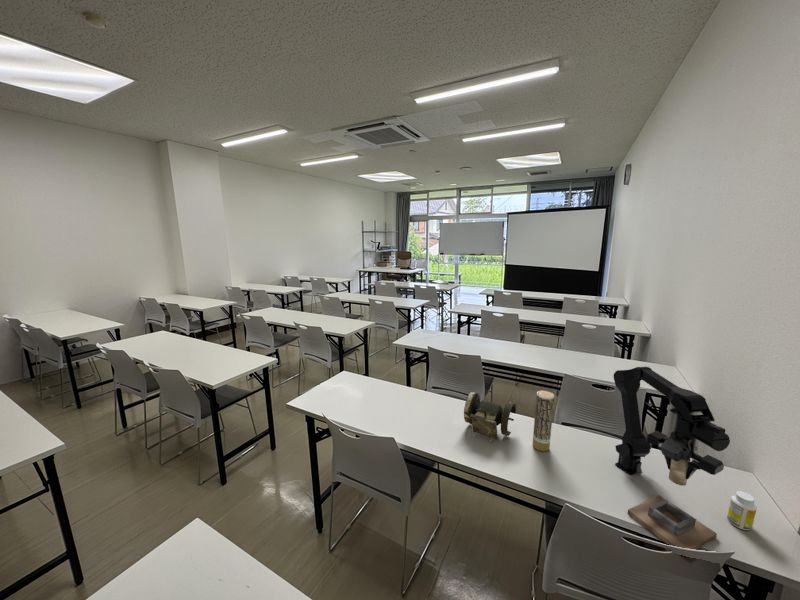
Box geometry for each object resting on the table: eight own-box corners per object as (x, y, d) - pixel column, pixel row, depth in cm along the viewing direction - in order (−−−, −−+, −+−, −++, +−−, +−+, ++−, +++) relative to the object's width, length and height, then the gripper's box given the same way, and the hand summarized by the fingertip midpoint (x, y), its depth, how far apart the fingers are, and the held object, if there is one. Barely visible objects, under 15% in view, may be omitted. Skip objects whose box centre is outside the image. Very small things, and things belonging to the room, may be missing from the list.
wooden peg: (665, 478, 108) (669, 454, 106) (673, 474, 109) (677, 450, 108) (681, 487, 104) (685, 462, 102) (689, 483, 105) (693, 458, 104)
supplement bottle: (750, 523, 102) (757, 495, 100) (752, 534, 98) (759, 506, 96) (726, 513, 106) (732, 486, 104) (726, 523, 102) (733, 496, 100)
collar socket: (627, 513, 106) (629, 501, 105) (657, 498, 112) (659, 487, 111) (684, 557, 91) (687, 544, 91) (716, 537, 97) (718, 525, 96)
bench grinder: (475, 406, 167) (468, 380, 156) (519, 417, 154) (515, 390, 144) (461, 440, 153) (453, 414, 143) (508, 455, 141) (502, 428, 131)
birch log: (551, 453, 136) (556, 398, 131) (534, 451, 137) (538, 397, 132) (547, 443, 142) (552, 391, 137) (531, 441, 144) (535, 389, 139)
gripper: (639, 422, 108) (633, 463, 111) (709, 455, 92) (700, 502, 94) (658, 415, 113) (652, 454, 116) (728, 445, 96) (719, 490, 99)
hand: (678, 473), depth 106 cm, fingers closed on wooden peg, 4 cm apart
